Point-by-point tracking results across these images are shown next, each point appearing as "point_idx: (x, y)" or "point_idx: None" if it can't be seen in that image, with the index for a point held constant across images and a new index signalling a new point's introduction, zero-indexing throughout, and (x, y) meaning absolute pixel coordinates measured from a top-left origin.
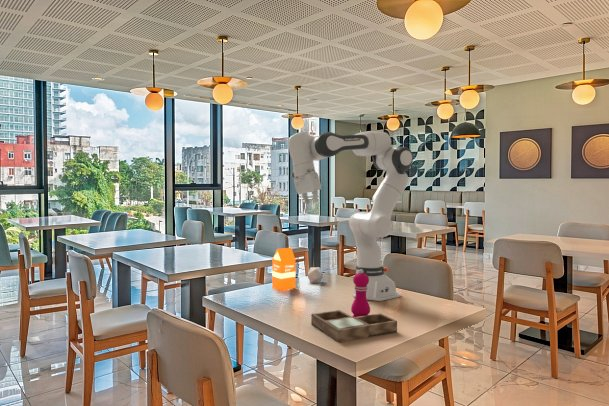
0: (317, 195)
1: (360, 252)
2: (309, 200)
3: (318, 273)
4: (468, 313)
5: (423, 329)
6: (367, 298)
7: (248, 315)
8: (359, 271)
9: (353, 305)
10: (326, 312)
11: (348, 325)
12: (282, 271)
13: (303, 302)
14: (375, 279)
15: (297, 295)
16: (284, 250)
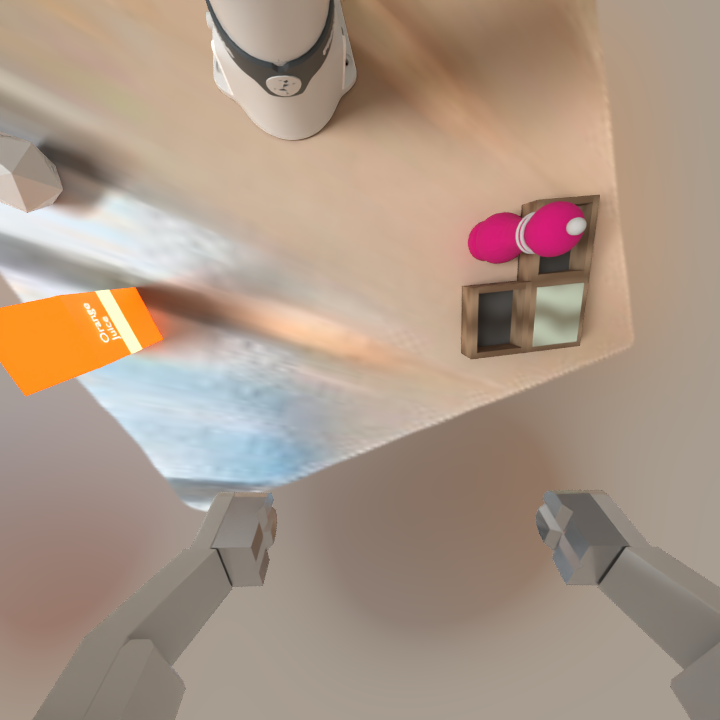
0: (707, 585)
1: (280, 2)
2: (257, 522)
3: (32, 166)
4: None
5: (596, 123)
6: (332, 111)
7: (362, 451)
8: (577, 234)
9: (505, 260)
10: (476, 324)
11: (572, 317)
12: (123, 349)
13: (300, 315)
14: (336, 33)
15: (224, 307)
16: (15, 353)
